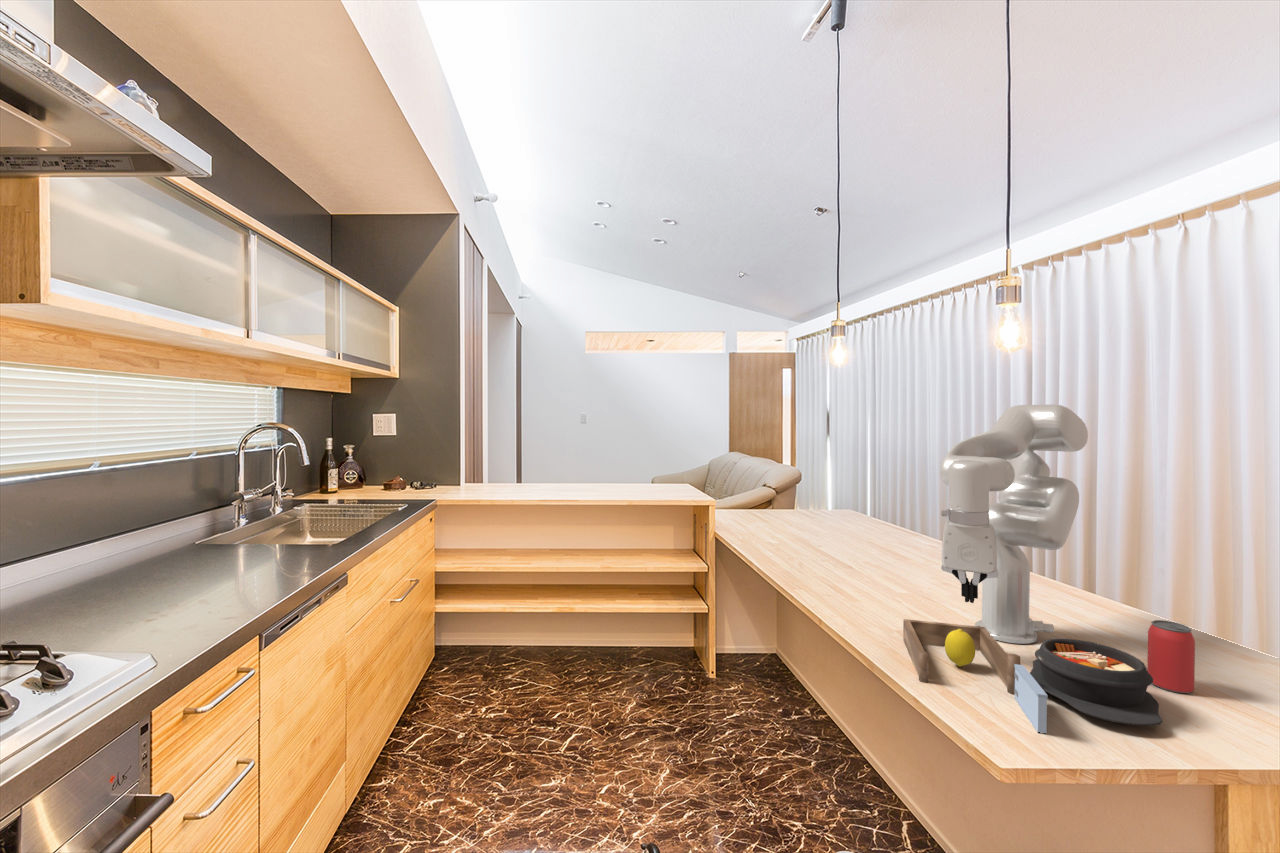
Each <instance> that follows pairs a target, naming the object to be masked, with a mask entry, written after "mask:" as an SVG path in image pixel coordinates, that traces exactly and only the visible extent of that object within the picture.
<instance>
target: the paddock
mask: <svg viewBox="0 0 1280 853" xmlns="http://www.w3.org/2000/svg"><path fill="white" fill-rule="evenodd" d="M902 622H903V627H902V628H903V632H902V633H903V636H902V637H903V638H902V639H903V640H902V641H903V643H904V646H905V647H906V650H907V653H908V655H909V657H910V659H911V662H912V665H913V667H914V669H915V672H916V675H917V677H918V681H919V682H921V683H926V684H927V683H928V682H929V653H928V652H926V651H925V650H924V647H923V646H922V645H927V646H937V647H944V648H945V640H946V637H947V635H948V634H949V633H950V632H951V631H954V630H958V629H962V630H963V631H964V632H966V633H968V634H969V635H970V636H971V638H972V639H973V641H974V645H975V651H978V652H979V651H980V653H981V654H982V656H983V657H984V658H985V660H986V661H987V663H988V664H989V665H990V667H991V668H992V669H993V671H994V672H995V673H996V675H997V676H998V678H999V679H1000V680H1001V682H1002V683H1003V684H1004V686H1005V687H1006V688H1007V690H1006V692H1007V693H1008V694H1011V695H1014V696H1015V693H1014V688H1015V677H1014V672H1015V667H1014V664H1018V665H1021V656H1020V655H1018V654H1015V653H1006V651H1005V650H1004V649H1003V648H1002V646H1001V645H1000V644H999V643H998V640H995V639H994V638H993V637H992V635H991V634H990V633H989V632H988V631H987V629H986V628H985V627H978V626H975V625H969V624H968V625H967V624H966V625H965V624H957V623H955V624H954V623H947V622H939V621H938V622H936V621H927V620H925V621H924V620H919V619H918V620H916V619H907V618H906V619H905V618H903V621H902Z"/></svg>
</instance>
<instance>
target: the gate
mask: <svg viewBox="0 0 1280 853" xmlns="http://www.w3.org/2000/svg"><path fill="white" fill-rule="evenodd" d="M1014 667H1015V672H1014V677H1015V688H1014V693H1015V695H1014V701H1016V703H1017V705H1018V706H1019V707H1020V709H1021V710H1022V712H1023V713H1024V714H1025V715H1024V716H1026V718H1027V719H1028V720H1029V722H1030V724H1031V723H1032V724H1031V725H1032V726H1033V728H1034V729H1035V731H1036V730H1037V731H1036V732H1037V733H1038V732H1040V733H1039V734H1042V733H1046V734H1047V731H1048V730H1047V725H1048V724H1047V723H1048V722H1047V717H1048V716H1047V715H1048V698H1049V697H1048V693H1047V692H1046V691H1044V690H1043V689H1042V688H1041V687H1040V685H1039V684H1038V683H1037V682H1036V680H1035V679H1034V678H1033V677H1032V675H1031V674H1030V672H1029V670H1028V669H1027V668H1026V667H1025V665H1024V664H1020V665H1018V664H1014ZM1041 732H1042V733H1041Z"/></svg>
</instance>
